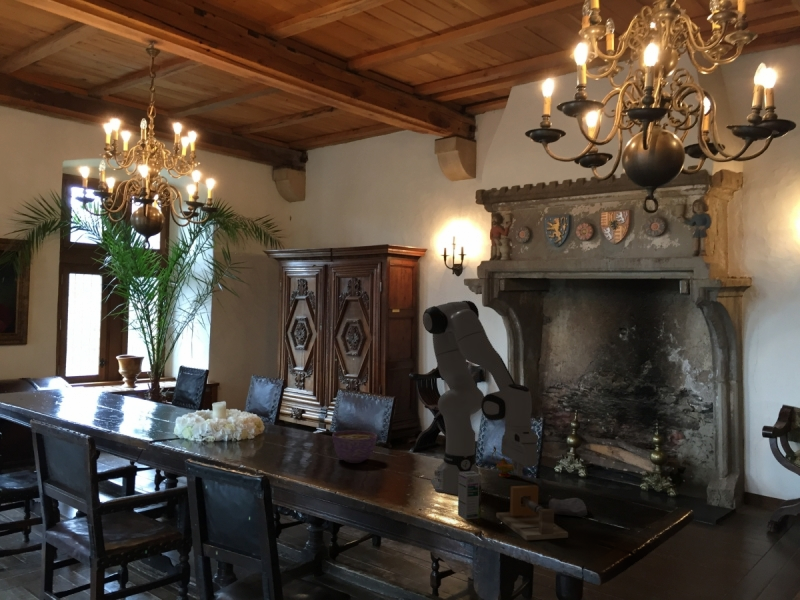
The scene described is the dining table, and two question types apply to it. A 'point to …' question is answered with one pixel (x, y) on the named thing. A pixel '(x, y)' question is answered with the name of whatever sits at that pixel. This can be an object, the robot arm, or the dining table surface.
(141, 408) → the dining table surface
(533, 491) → the collar
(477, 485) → the syrup box
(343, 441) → the bowl of food
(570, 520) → the dining table surface
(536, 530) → the pipe stand
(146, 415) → the dining table surface
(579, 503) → the stone block
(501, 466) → the magic lamp
